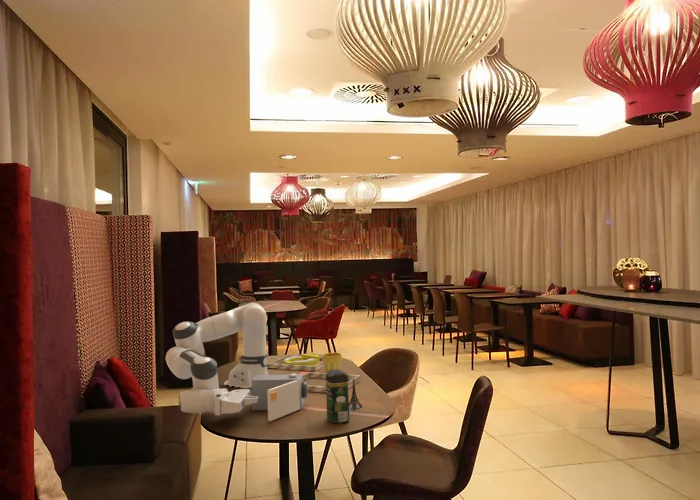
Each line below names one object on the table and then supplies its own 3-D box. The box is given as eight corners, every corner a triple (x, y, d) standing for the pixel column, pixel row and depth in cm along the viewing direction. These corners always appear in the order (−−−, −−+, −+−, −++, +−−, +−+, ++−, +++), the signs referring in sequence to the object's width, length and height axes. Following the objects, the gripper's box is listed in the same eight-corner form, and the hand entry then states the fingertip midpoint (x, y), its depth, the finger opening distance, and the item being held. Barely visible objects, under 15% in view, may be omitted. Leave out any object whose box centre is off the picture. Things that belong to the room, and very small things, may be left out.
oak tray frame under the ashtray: (266, 368, 294) (266, 363, 294) (287, 359, 317) (287, 355, 317) (314, 371, 284) (314, 366, 284) (332, 362, 307) (332, 357, 307)
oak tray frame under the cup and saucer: (284, 389, 247) (284, 384, 247) (308, 377, 271) (308, 372, 271) (340, 393, 237) (340, 388, 237) (360, 380, 261) (360, 375, 261)
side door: (272, 422, 198) (271, 389, 198) (267, 421, 199) (267, 388, 199) (303, 409, 214) (302, 378, 214) (299, 408, 215) (298, 378, 215)
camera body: (252, 410, 215) (251, 377, 215) (256, 403, 224) (255, 372, 224) (306, 408, 215) (305, 376, 215) (308, 402, 224) (307, 371, 224)
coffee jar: (324, 417, 203) (323, 368, 203) (344, 415, 205) (343, 367, 205) (330, 425, 194) (329, 374, 194) (351, 422, 196) (350, 372, 196)
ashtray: (324, 364, 303) (324, 355, 303) (297, 371, 287) (297, 362, 287) (304, 361, 313) (304, 352, 313) (277, 367, 298) (277, 358, 298)
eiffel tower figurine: (338, 404, 222) (338, 372, 222) (362, 403, 223) (362, 371, 223) (342, 415, 207) (341, 380, 207) (368, 413, 208) (367, 379, 208)
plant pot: (327, 370, 286) (326, 352, 286) (345, 371, 282) (344, 352, 282) (319, 374, 276) (318, 355, 276) (337, 375, 273) (337, 356, 273)
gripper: (228, 401, 213) (262, 400, 213) (214, 416, 192) (252, 416, 192) (228, 385, 213) (262, 384, 213) (213, 399, 192) (252, 398, 192)
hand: (257, 399), depth 202 cm, fingers closed
